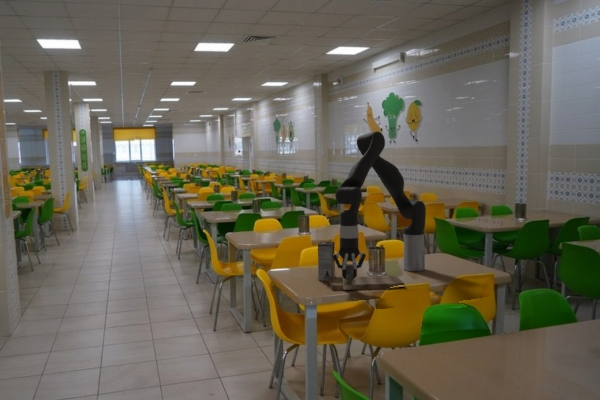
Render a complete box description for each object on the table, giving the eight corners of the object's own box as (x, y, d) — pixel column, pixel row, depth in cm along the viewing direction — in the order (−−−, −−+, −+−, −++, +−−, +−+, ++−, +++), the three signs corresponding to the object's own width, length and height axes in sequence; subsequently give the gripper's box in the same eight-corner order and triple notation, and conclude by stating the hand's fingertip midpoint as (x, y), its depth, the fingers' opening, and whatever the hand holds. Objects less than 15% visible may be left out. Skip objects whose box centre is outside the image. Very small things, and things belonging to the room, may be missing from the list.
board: (396, 280, 230) (396, 275, 230) (404, 288, 216) (404, 283, 216) (328, 282, 228) (328, 277, 228) (332, 290, 214) (331, 285, 214)
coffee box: (321, 275, 240) (320, 241, 239) (335, 276, 239) (334, 241, 238) (318, 280, 232) (317, 244, 230) (332, 281, 230) (332, 244, 229)
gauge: (351, 282, 225) (351, 259, 225) (356, 289, 212) (356, 265, 211) (339, 282, 225) (339, 259, 224) (343, 290, 212) (343, 265, 211)
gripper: (364, 234, 216) (364, 275, 217) (330, 235, 215) (331, 276, 217) (368, 237, 208) (368, 279, 210) (332, 238, 208) (333, 280, 209)
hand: (349, 277), depth 213 cm, fingers open, 3 cm apart
